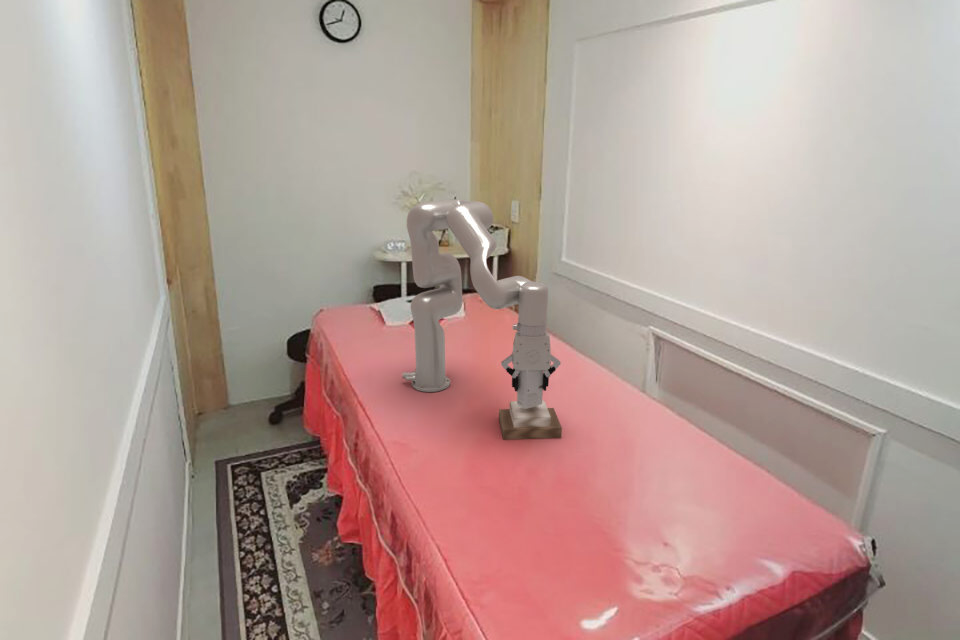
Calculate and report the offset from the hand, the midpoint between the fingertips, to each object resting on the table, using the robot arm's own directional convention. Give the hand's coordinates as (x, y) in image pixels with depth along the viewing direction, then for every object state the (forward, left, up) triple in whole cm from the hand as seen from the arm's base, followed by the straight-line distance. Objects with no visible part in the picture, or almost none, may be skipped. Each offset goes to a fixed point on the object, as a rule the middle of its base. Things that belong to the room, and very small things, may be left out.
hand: (529, 388), depth 161 cm
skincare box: (0, 0, -5) cm, 5 cm away
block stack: (0, 0, -12) cm, 12 cm away
